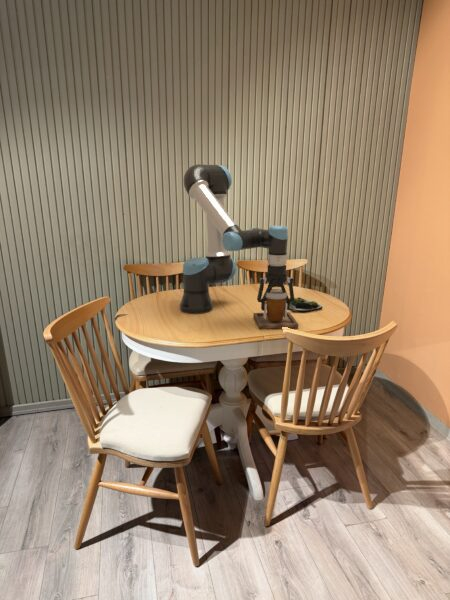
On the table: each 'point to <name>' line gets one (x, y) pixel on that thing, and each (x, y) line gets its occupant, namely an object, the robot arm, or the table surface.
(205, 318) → the table surface
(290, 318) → the walnut tray
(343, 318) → the table surface
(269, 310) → the disposable coffee cup
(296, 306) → the salad plate
